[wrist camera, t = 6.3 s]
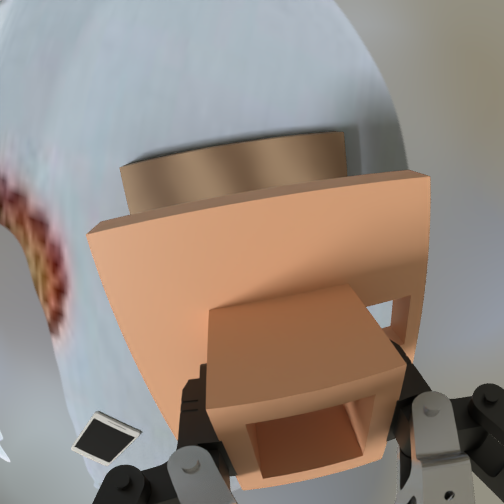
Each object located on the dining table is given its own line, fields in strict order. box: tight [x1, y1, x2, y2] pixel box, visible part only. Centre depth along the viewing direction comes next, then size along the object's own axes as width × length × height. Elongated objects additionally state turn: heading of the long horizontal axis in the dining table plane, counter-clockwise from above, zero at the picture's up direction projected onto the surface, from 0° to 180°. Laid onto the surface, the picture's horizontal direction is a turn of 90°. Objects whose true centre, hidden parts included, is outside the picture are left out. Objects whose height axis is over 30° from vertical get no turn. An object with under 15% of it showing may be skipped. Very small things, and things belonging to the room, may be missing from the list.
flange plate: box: [86, 170, 430, 490], centre depth 11 cm, size 12×12×6 cm
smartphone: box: [71, 411, 140, 466], centre depth 38 cm, size 7×16×1 cm, turn 142°
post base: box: [120, 131, 347, 215], centre depth 26 cm, size 18×18×6 cm
